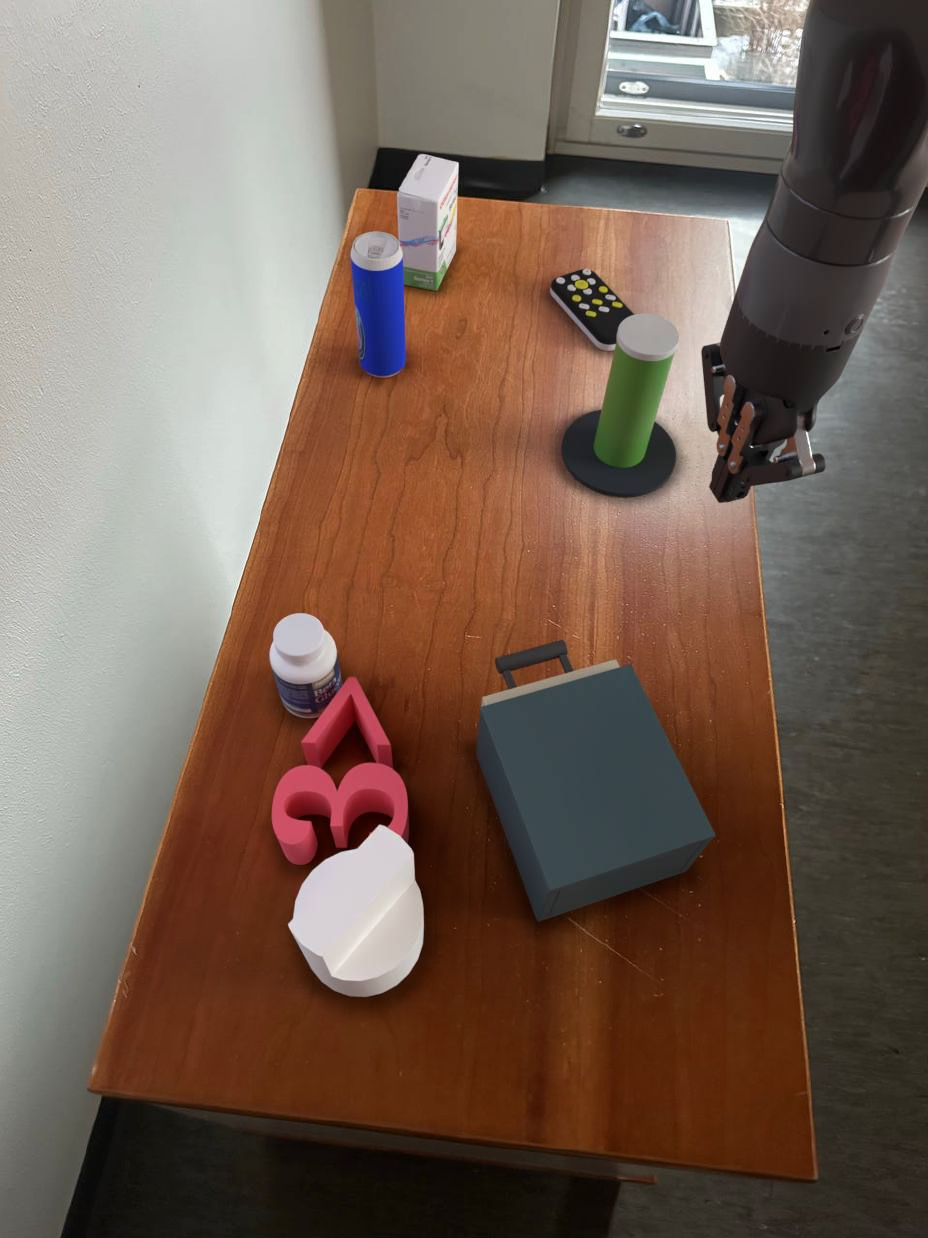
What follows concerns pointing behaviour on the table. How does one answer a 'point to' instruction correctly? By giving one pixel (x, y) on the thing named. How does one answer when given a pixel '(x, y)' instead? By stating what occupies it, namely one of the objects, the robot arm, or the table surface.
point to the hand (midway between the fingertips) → (725, 493)
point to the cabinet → (588, 791)
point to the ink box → (428, 220)
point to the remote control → (591, 306)
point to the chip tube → (634, 388)
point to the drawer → (535, 657)
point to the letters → (358, 789)
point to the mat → (614, 479)
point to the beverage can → (379, 303)
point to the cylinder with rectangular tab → (362, 916)
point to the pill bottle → (305, 665)
